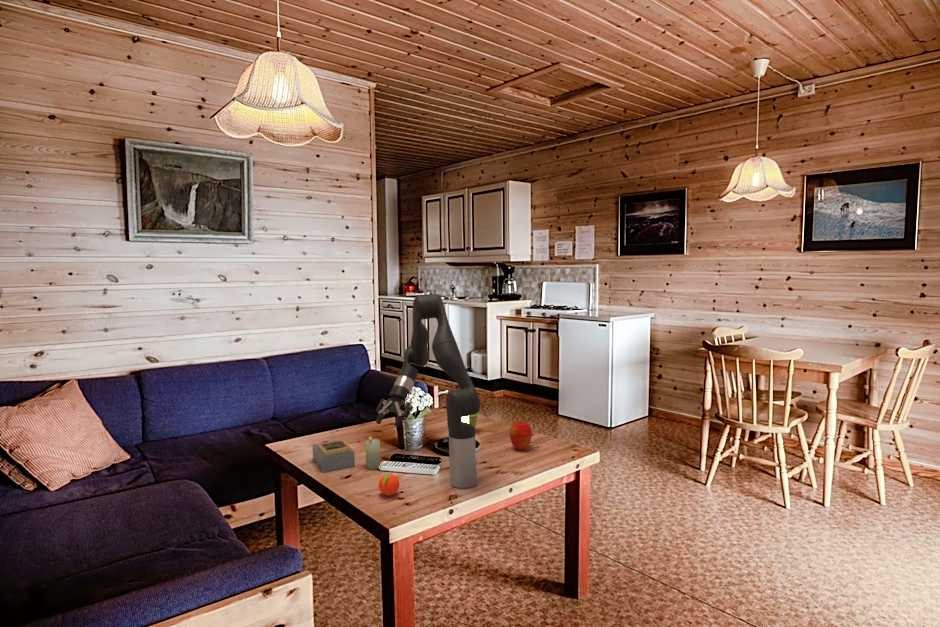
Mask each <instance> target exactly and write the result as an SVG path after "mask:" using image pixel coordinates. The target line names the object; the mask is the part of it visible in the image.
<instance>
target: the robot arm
mask: <svg viewBox="0 0 940 627" xmlns="http://www.w3.org/2000/svg"><path fill="white" fill-rule="evenodd" d="M447 315H448V314H447V312H446V308H445V305H444V302H443V300H442V298H441V295H439V294H438V293H432V294H431V293H429V294H422V295H418V296H416V297H414V299H413V302H412V334H411V340H410V346H408V347H406V348H405V350H404V354H403V363H402V367H401V369H400V372H399V374H398V376H397V378H396V380H395V381H394V385H393V387H392V389H391V391H390V393H389V395H388V396H389V397H388V399H387V400H386V399H384V398H381V399H380V401H379V403H378V404H377V407H376V409H375V412H376V414H378V415H377V417H376V419H375V421H376V424H377V425H381V423H382V421H383V419H384V416H385V415H386V414H389V413H396V414H397V417H396V418H395V421H394V423H393V424H394V427H395V428H398V427H399V426H401V423H402V422H403V419H405V418H406V419H408V418H409V416H410V413H411V411H412V408H413V405H412V404H411V402H410V401H407V402H406V403H405V398H406V397H407V394H409V393H410V391H411V392H412V391H413V388H414V386H415V382H416V380H417V378H418V374H419V370H418V369H417V367H421V368H422V367H425V366H427V364H428V362H429V360H430V352H429V348H428V344H429V342H430V341H429V340H430V332H429V330H428V328H427V327H426V325H424V323H423V320H430V319H436V321H437V329H436V332H435V334H434V337H433V340H432V344H431V350H432V353H433V356H434V359H435V362H436V364H437V365H438V367H439V368H440V369H441V370H442V371H443V372H444V373H446V374H447V375H448V376H450V378H452V380H454V381H455V382H456V384H457V385H458V388H459V389H454V390H449V391H448V392H447V394H446V396H445V408H446V419H447V429H448V454H449V455H448V456H449V465H448V466H449V484H450V486H452V487H455V488H458V489H461V490H462V489H467V488H471V487H475V486H478V471H477V468H478V466H477V464H478V463H477V456H476V455H477V451H476V449H477V448H476V445H477V444H476V429H475V427H474V426H473V425H471V424H467V423H463V422H461V417H462V416H468V415H473V414H477V413H479V412H480V410H481V402H480V401H481V399H480V396H479V393H478V391H477V389H476V387H475V385H474V383H473V381H472V379H471V377H470V375H469V373H468V371H467V369H466V366H465V363H464V360H463V357H462V354H461V352H460V348H459V345H458V344H457V340H456V338H455V337H454V336H455V335H454V333H453V331H452V328H451V325H450V323H449V319H448V316H447ZM413 365H415V366H417V367H415V366H413ZM410 394H411V393H410ZM403 409H404V410H403Z"/></svg>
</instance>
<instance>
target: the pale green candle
mask: <svg viewBox="0 0 940 627" xmlns="http://www.w3.org/2000/svg"><path fill="white" fill-rule="evenodd" d="M365 459H366V461H365V464H366V469H368V470H377V469H380V468H379V466H380V467H381V444H380V439H377V438H373V437H372V436H368V439H367V440H365Z"/></svg>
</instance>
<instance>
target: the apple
mask: <svg viewBox="0 0 940 627" xmlns="http://www.w3.org/2000/svg"><path fill="white" fill-rule="evenodd" d="M508 432H509V433H508V434H509V439H510V442H511V445H512V446H513V447H514V448H515V449H516V450H518V451H524V450H526V448H528V447H529V445H530V443H531V441H532V437H533V435H532V434H533V431H532V429H531V425H530V424H529V423H528V422H525V421H521V420H520V421H519V420H518V421H515V422H514V423H513V424H511V425H510V428H509V431H508Z"/></svg>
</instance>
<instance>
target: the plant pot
mask: <svg viewBox="0 0 940 627" xmlns="http://www.w3.org/2000/svg"><path fill="white" fill-rule="evenodd" d="M478 417H479V412H478V413H477V414H473V415H470V424H471V425H473V426H474V427H475V430H476V427H477V420H478Z"/></svg>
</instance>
